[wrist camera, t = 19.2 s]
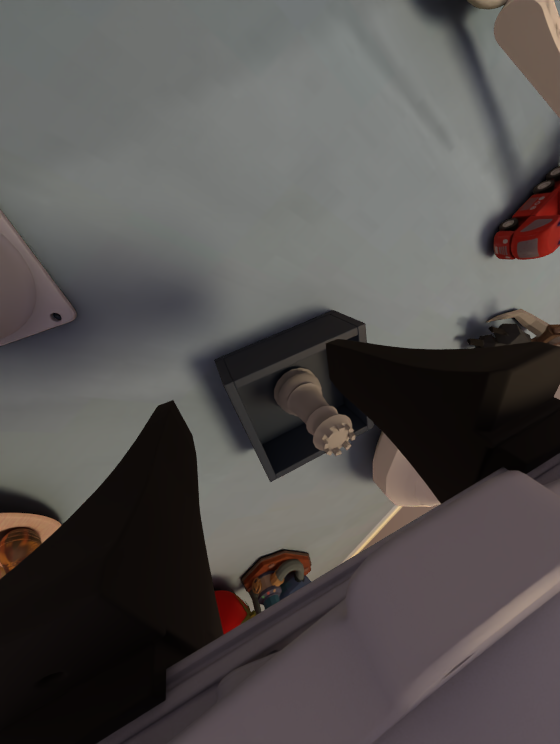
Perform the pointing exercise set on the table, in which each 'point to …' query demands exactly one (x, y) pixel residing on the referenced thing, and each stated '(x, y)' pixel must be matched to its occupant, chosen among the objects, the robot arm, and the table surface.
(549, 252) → the toy fire truck
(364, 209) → the table surface
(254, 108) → the table surface
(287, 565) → the model
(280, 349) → the bin
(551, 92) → the knife
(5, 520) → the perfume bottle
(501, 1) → the saucer
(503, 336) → the toy
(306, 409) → the rook chess piece
